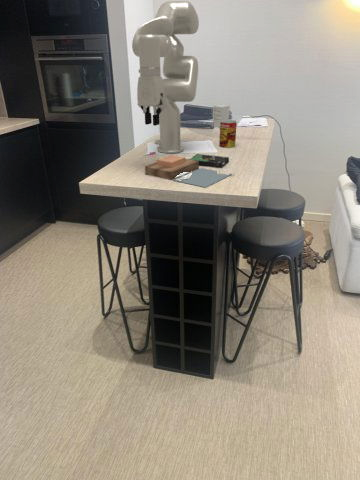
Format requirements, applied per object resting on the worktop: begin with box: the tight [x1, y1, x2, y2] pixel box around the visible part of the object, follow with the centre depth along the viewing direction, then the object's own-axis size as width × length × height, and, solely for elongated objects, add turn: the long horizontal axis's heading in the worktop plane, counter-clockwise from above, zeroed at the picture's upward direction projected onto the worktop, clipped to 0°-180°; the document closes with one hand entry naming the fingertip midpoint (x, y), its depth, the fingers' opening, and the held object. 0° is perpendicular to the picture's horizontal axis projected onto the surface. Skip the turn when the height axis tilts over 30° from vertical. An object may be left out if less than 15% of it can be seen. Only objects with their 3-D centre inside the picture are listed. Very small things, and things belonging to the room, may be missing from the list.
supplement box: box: [212, 104, 230, 129], centre depth 229 cm, size 7×7×13 cm
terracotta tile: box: [156, 154, 186, 168], centre depth 146 cm, size 7×9×2 cm
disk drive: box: [189, 153, 230, 169], centre depth 158 cm, size 10×3×15 cm
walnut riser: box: [144, 158, 200, 181], centre depth 147 cm, size 13×18×3 cm
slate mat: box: [172, 167, 231, 189], centre depth 140 cm, size 14×19×1 cm
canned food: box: [218, 119, 238, 149], centre depth 183 cm, size 8×8×12 cm
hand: (152, 124), depth 145 cm, fingers open, 3 cm apart
